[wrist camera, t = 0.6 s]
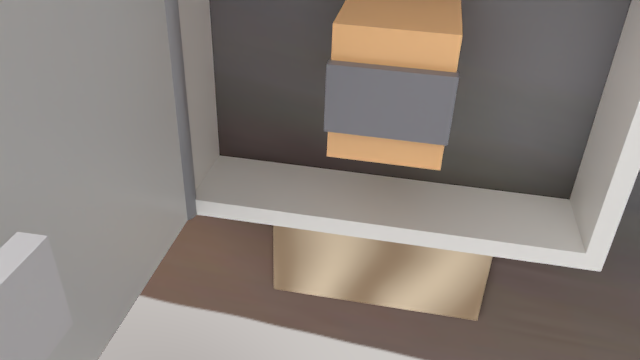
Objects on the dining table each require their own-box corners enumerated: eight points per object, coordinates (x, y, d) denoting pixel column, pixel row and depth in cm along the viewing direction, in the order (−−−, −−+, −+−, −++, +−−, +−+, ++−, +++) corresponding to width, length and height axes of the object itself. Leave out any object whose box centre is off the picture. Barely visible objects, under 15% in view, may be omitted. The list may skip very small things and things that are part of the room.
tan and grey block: (350, 86, 33) (322, 161, 26) (357, -25, 30) (328, 27, 23) (444, 96, 32) (442, 176, 25) (462, -17, 29) (465, 39, 22)
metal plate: (275, 285, 42) (273, 288, 42) (274, 201, 38) (272, 204, 38) (476, 316, 40) (477, 320, 40) (497, 231, 36) (497, 235, 36)
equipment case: (200, 166, 38) (-16, 474, 20) (167, -226, 27) (-371, -291, 9) (582, 215, 35) (718, 633, 17) (723, -206, 24) (1512, -254, 6)
